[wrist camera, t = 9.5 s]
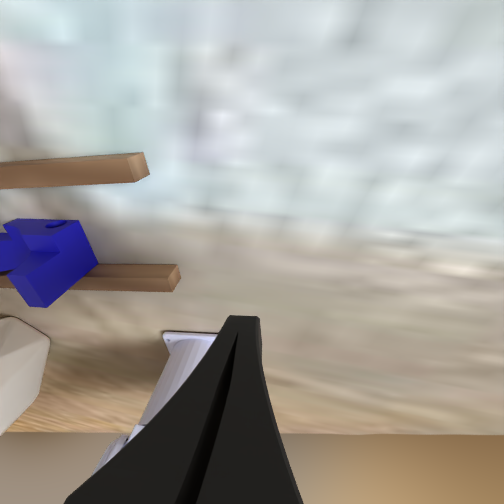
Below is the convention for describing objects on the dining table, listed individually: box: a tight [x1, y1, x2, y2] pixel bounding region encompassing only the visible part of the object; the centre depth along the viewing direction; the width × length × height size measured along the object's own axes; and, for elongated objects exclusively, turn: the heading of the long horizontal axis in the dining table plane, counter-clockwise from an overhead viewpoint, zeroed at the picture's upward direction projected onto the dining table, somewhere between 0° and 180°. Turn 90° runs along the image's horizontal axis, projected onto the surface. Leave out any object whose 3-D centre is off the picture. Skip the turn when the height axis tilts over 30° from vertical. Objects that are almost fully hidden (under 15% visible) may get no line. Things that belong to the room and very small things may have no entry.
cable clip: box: [0, 219, 98, 308], centre depth 20 cm, size 12×4×6 cm, turn 92°
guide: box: [0, 152, 181, 292], centre depth 20 cm, size 11×22×3 cm, turn 95°
